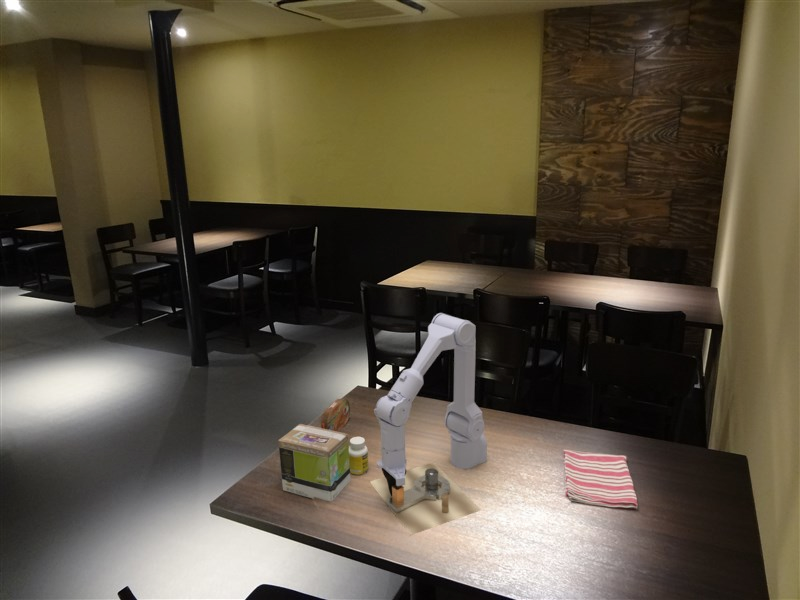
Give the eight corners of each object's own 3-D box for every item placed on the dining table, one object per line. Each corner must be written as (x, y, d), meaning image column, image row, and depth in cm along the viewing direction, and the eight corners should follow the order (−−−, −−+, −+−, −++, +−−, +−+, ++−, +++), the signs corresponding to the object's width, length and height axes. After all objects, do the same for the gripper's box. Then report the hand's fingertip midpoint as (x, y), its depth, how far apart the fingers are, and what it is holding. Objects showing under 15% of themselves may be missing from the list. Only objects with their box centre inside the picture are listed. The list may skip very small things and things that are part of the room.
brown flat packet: (329, 441, 166) (327, 416, 163) (320, 440, 167) (318, 414, 164) (351, 418, 179) (350, 394, 177) (342, 417, 180) (341, 393, 178)
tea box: (351, 483, 145) (349, 432, 141) (331, 505, 137) (328, 452, 133) (303, 470, 152) (300, 421, 147) (281, 491, 143) (276, 439, 139)
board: (433, 465, 153) (433, 462, 152) (481, 513, 133) (481, 509, 132) (369, 484, 145) (369, 481, 144) (410, 538, 125) (410, 535, 124)
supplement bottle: (365, 479, 147) (364, 446, 144) (345, 477, 148) (344, 444, 145) (370, 468, 152) (369, 435, 149) (351, 466, 153) (350, 434, 150)
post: (434, 484, 143) (434, 467, 141) (440, 491, 140) (440, 473, 138) (423, 487, 141) (422, 470, 140) (429, 494, 138) (429, 477, 137)
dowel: (446, 508, 133) (446, 493, 132) (449, 512, 132) (449, 497, 131) (440, 510, 133) (440, 495, 131) (443, 514, 131) (444, 499, 130)
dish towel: (564, 504, 136) (565, 491, 135) (562, 453, 158) (562, 442, 157) (638, 514, 132) (640, 501, 131) (626, 461, 154) (627, 449, 153)
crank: (433, 473, 146) (433, 457, 145) (457, 490, 139) (457, 472, 138) (380, 498, 137) (380, 481, 135) (402, 517, 130) (402, 499, 128)
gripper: (370, 432, 138) (373, 479, 142) (383, 464, 124) (385, 515, 128) (398, 428, 139) (399, 475, 143) (413, 459, 126) (414, 510, 130)
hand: (394, 494), depth 136 cm, fingers closed
